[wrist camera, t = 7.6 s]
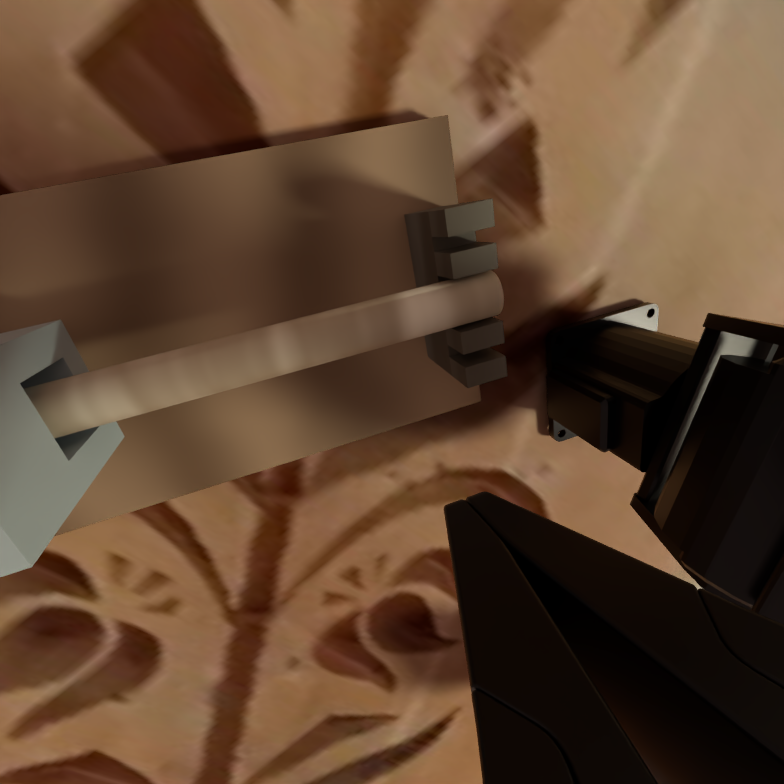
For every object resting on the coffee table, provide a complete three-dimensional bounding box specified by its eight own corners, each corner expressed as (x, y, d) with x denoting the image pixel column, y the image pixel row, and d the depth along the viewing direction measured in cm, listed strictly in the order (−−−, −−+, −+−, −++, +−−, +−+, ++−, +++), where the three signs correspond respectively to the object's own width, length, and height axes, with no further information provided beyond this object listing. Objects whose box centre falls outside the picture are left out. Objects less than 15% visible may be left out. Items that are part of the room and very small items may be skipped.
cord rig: (437, 121, 16) (532, 59, 10) (471, 393, 21) (548, 455, 15) (-370, 268, 12) (-994, 302, 6) (-88, 568, 17) (-277, 746, 11)
